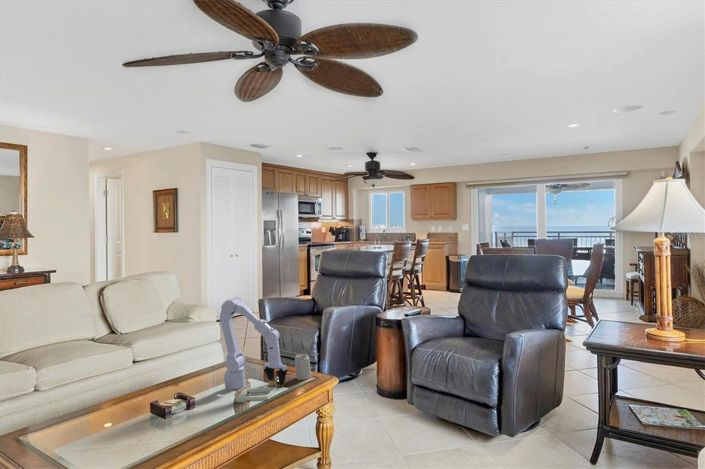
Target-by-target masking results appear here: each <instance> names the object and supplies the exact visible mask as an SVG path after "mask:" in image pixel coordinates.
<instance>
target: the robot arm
mask: <svg viewBox="0 0 705 469" xmlns="http://www.w3.org/2000/svg"><path fill="white" fill-rule="evenodd" d="M235 314H237V315H238V314H239V315H242V316H243V317H245V319H247V320H248V321H249V322H251V323H252V324H253V328H254V330H255V331H257V333H259V334H260V335H261V336H262V337H263V339H264V342H265V343H266V349H267V359H268V361H267V362H264V363H263V366H264V368H263V372H264V373H265V376H267V379H268V381H269V380H272V379H274V377H275V372H276V374H277V377H278V378H279V383H280V385H283V384H284V381H285V376H287V372H288V371H289V370H288V366H287V365H285V364H283V362H282V361H281V353H280V351H281V350H280V342H279V339H280V337H281V336H280V335H281V334H280V332H279V331H278V330H277V329H276V328H273V327H271V326H270V325H269V324H268V323H267V321H268V320H265V319H263V318H260V319H259V317H258V316H257V315H256V314H255V313H254V312H253V311H252V310H251V309H250V308H249V307H248V305H247V304H246V303H245V301H242V299H241V298H240V297H234V298H231V299H227V300H225V301H224V302H223V303H222V305H221V311H220V313H219V321H220V325H221V329H222V330H221V331H222V333H223V334H222V335H223V338H224V342H225V345H226V349H227V354H226V357H225V358H226V359H225V360H226V364H225V367H226V369H227V370H226V371H225V372H224V376H223V379H224V380H223V381H224V389H225V390H239V389H243V388H245V387H246V385H247V383H246V374H245V364H246V362H247V361H246V357H245V355H243V351H242V350H241V349H240V348H239V345H238V344H239V343H238V339H237V336H236V331H235V327H234V323H233V317H234V316H235ZM275 370H276V371H275Z"/></svg>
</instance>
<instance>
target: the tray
mask: <svg viewBox="0 0 705 469" xmlns="http://www.w3.org/2000/svg"><path fill="white" fill-rule="evenodd" d="M277 390H278V388H276V387H269V388H267V387H254V388H253V387H251V388H245V389H244V390H243V391H242V392H241V393H239V395H237V396H236V398H235V399H236V403H250V401H258V400H259V401H260V400H261V401H262V400H269V399H271V397H272V396H273V395H274V394H275V393H276V392H277ZM259 392H260V393H261V392H262V393H265V392H268V393H267V395H247V394H248V393H259Z"/></svg>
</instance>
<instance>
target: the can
mask: <svg viewBox="0 0 705 469" xmlns="http://www.w3.org/2000/svg"><path fill="white" fill-rule="evenodd" d="M294 367H295V376H296V377H295V378H296V380H298V381H305V380H308V379H310V378H312V371H311V360H310V357H309V355H308V353H300V354H296V355H295V358H294Z"/></svg>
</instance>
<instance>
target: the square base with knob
mask: <svg viewBox="0 0 705 469" xmlns="http://www.w3.org/2000/svg"><path fill="white" fill-rule="evenodd" d="M274 379H275V381H278V376H274ZM287 383H288V381H287V380H286V382H285V384H283V385H281V386H278V387H276V388H277V389H278V388H283V387H284V386H285V385H286V384H287ZM269 387H272V386H269V385H267V387H266V388H269Z"/></svg>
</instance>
